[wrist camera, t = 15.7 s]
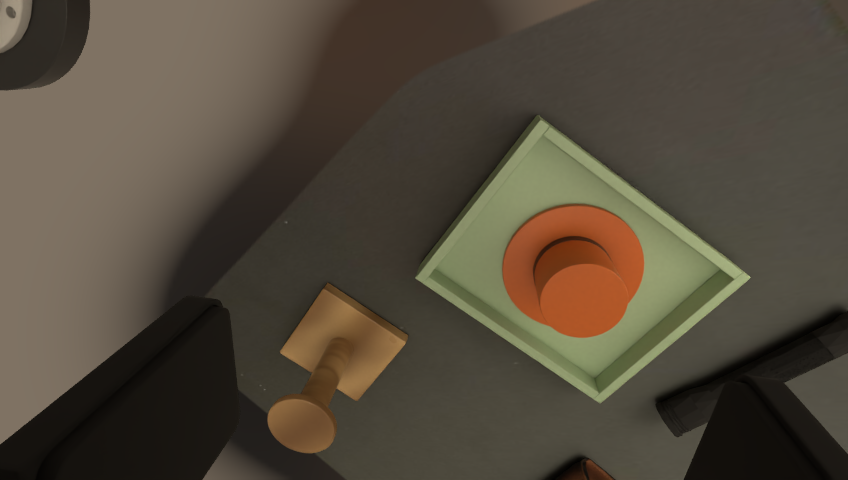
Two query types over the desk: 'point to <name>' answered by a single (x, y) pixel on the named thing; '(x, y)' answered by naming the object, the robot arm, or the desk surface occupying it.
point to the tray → (593, 185)
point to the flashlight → (758, 374)
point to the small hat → (574, 269)
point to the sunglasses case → (585, 472)
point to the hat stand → (331, 366)
